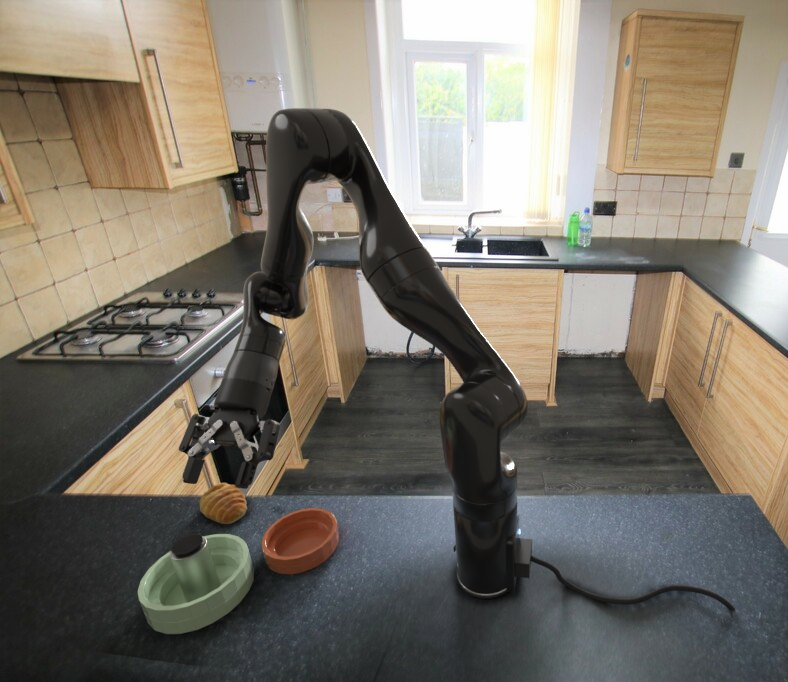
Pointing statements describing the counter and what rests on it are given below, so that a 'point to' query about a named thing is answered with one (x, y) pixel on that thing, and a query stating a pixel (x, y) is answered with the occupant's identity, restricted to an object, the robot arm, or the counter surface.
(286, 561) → the bowl
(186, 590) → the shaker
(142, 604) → the bowl
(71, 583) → the counter surface
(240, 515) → the pastry
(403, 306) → the robot arm
